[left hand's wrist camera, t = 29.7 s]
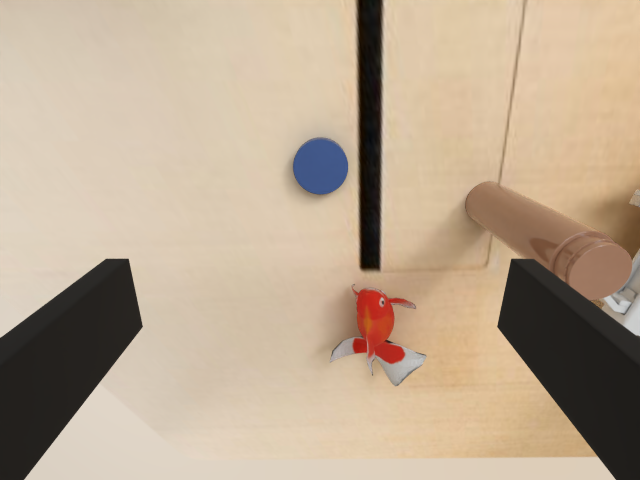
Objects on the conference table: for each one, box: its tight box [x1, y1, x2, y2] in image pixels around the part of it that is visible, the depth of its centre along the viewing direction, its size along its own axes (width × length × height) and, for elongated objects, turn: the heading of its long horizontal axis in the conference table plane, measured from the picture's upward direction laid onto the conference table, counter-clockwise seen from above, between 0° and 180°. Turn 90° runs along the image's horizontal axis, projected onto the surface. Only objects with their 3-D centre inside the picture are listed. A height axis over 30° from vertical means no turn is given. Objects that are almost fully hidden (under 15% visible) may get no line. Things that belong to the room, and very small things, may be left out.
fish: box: [330, 284, 426, 386], centre depth 43 cm, size 11×16×10 cm
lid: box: [293, 138, 348, 194], centre depth 39 cm, size 6×6×2 cm
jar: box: [466, 182, 632, 301], centre depth 33 cm, size 5×5×18 cm
